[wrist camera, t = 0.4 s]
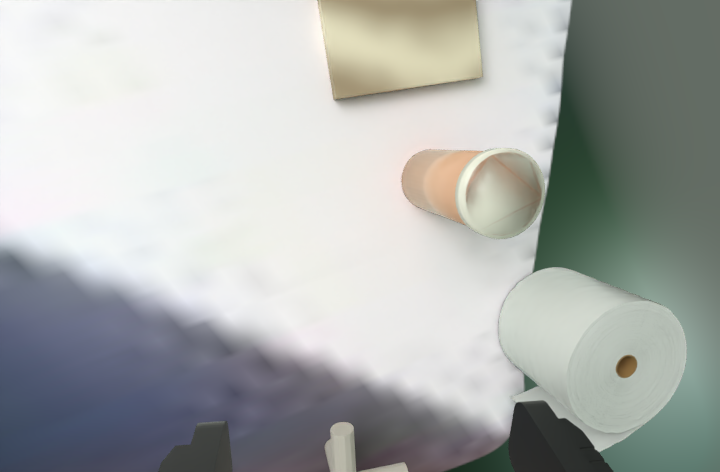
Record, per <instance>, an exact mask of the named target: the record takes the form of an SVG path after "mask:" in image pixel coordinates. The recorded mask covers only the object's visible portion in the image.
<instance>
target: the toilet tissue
mask: <svg viewBox="0 0 720 472" xmlns="http://www.w3.org/2000/svg"><path fill="white" fill-rule="evenodd" d="M498 334H499V340H500V344H501V347H502V349H503V352H504V353H505V355H506V356H507V358H508V359H509V360H510V361H511V362H512V363H513V364H514V365H515V366H516V367H518V368H519V369H520V370H521V371H523V372H524V373H525V375H527V376H529V377H530V378H531V379H532V380H533V381H535V382H536V384H538V386H537V387H535V388H533V389H531V390H528V391H526V392H523V393H520V394H518V395H515V396H511V397H510V398H511V399H512V400H514V401H515V402H516V403H517V402H524V401H539V400H544V401H546V402H547V403H548V405H549V406H550V407H551V409H552V410H553V412H554V413H555V414H556V416H557V417H558V419H559V418H566V419H568V420H569V421H570V422H572V423H573V424H574V425H575V426H577V427H578V428H579V429H581V430H582V431H583V432H584V433H585V435H586V436H587V437H588V439H589V440H590V441H591V443H592V444H593V445H594V448H595V450H597V451H598V452H600V451H602V450H604V449H606V448H609V447H611V446H612V445H613V444H615V443H618V442H621V441H622V440H624V439H625V438H627V437H628V436H629V435H630V434H632V433H633V432H634V431H636V430H637V429H638V428H640V427H641V426H643V425H644V424H645V423H647V422H648V421H649V420H650V419H652V418H653V417H654V416H655V415H656V414H657V413H659V412H660V411H661V410H662V408H663V407H664V406H665V405H666V404H667V403H668V402H669V400H670V399H671V397H672V396H673V394H674V393H675V391H676V389H677V387H678V385H679V383H680V381H681V379H682V376H683V372H684V369H685V365H686V357H687V345H686V338H685V334H684V331H683V328H682V326H681V324H680V323H679V321H678V319H677V318H676V317H675V316H674V314H673V313H672V312H671V311H670V310H669V309H668V308H666V307H664V306H663V305H661V304H658V303H656V302H653V301H651V300H648V299H645V298H642V297H640V296H638V295H636V294H632V293H629V292H628V291H625V290H623V289H620V288H618V287H614V286H611V285H609V284H607V283H605V282H602V281H598V280H596V279H594V278H592V277H588V276H587V275H583V274H581V273H578V272H576V271H573V270H570V269H567V268H560V267H553V268H546V269H542V270H539V271H536V272H535V273H533V274H531V275H529V276H527V277H526V278H525V279H523V280H522V281H520V282H518V283H517V285H516V287H515V288H514V289H513V290H512V291H511V292H510V293H509V295H508V296H507V298H506V300H505V301H504V305H503V308H502V310H501V314H500V318H499V328H498Z"/></svg>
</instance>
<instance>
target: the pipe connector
mask: <svg viewBox="0 0 720 472" xmlns="http://www.w3.org/2000/svg"><path fill="white" fill-rule="evenodd" d="M325 452H326V456H327V460H328V464H329V468H330V472H356V460H355V442H354V427H353V426H352V424H350V423H347V422H339V423H336V424H334V425H333V426H332V427H331V439H329V440H328V441H327V442H326V444H325ZM358 472H408V469H407V467H406V464H405V463H404V462H402V463H397V464H393V465H388V466H383V467H378V468H373V469H368V470H363V471H358Z"/></svg>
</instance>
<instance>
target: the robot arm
mask: <svg viewBox="0 0 720 472" xmlns="http://www.w3.org/2000/svg"><path fill="white" fill-rule="evenodd" d="M509 456H510V460H511V464H512V466H513V468H514V470H515V472H613V470H612V469H611V468H610V467H609V465H608V464H607V463H605V462H604V459H603V457H602V456H601V455H600V453H599V452H598V451H597V450H595V448H594V445H593V444H592V443H591V441H590V440H589V439H588V437H587V436H586V435H585V433H584V432H583V431H582V430H581V429H579V428H578V427H577V426H575V425H574V424H573V423H572V422H570V421H569V420H568V419H566V418H559V419H558V417H557V416H556V414H555V413H554V412H553V410H552V409H551V407H550V406H549V405H548V403H547V402H546V401H544V400H539V401H524V402H517V403H516V404H515V408H514V413H513V419H512V426H511V432H510V438H509ZM158 472H232V459H231V449H230V440H229V430H228V423H227V421H219V422H205V423H198V424H197V426H196V428H195V432H194V435H193V439H192V442H191V445H179V446H175V447H174V448H173V449H172V451H171V452H170V453H169V454H168V455H167V457H166V458H165V459H164V460H163V461H162V463H161V465H160V468H159V471H158Z"/></svg>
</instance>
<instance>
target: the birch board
mask: <svg viewBox="0 0 720 472" xmlns="http://www.w3.org/2000/svg"><path fill="white" fill-rule="evenodd" d="M317 1H318V7H319V13H320V19H321V25H322V31H323V37H324V43H325V50H326V56H327V62H328V68H329V74H330V80H331V86H332V92H333V99H334V100H336V99H343V98H350V97H357V96H363V95H370V94H377V93H383V92H390V91H397V90H404V89H410V88H417V87H424V86H430V85H437V84H444V83H451V82H457V81H464V80H471V79H477V78H480V77H483V74H482V64H481V53H480V42H479V31H478V21H477V10H476V0H317Z"/></svg>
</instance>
